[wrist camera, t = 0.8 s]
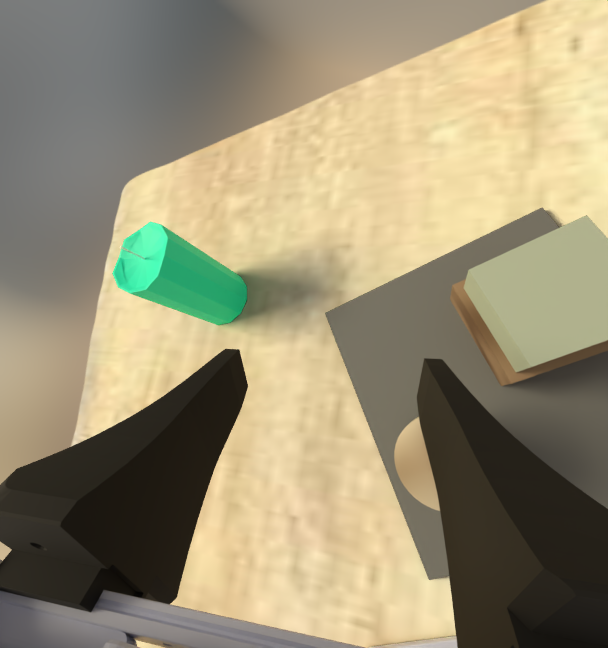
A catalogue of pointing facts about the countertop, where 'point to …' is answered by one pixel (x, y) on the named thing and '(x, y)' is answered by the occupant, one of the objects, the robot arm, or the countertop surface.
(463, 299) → the tower base
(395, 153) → the countertop surface
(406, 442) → the tan rounded cylinder
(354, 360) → the mat
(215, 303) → the candle
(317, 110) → the countertop surface
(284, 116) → the countertop surface
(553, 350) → the tower top
